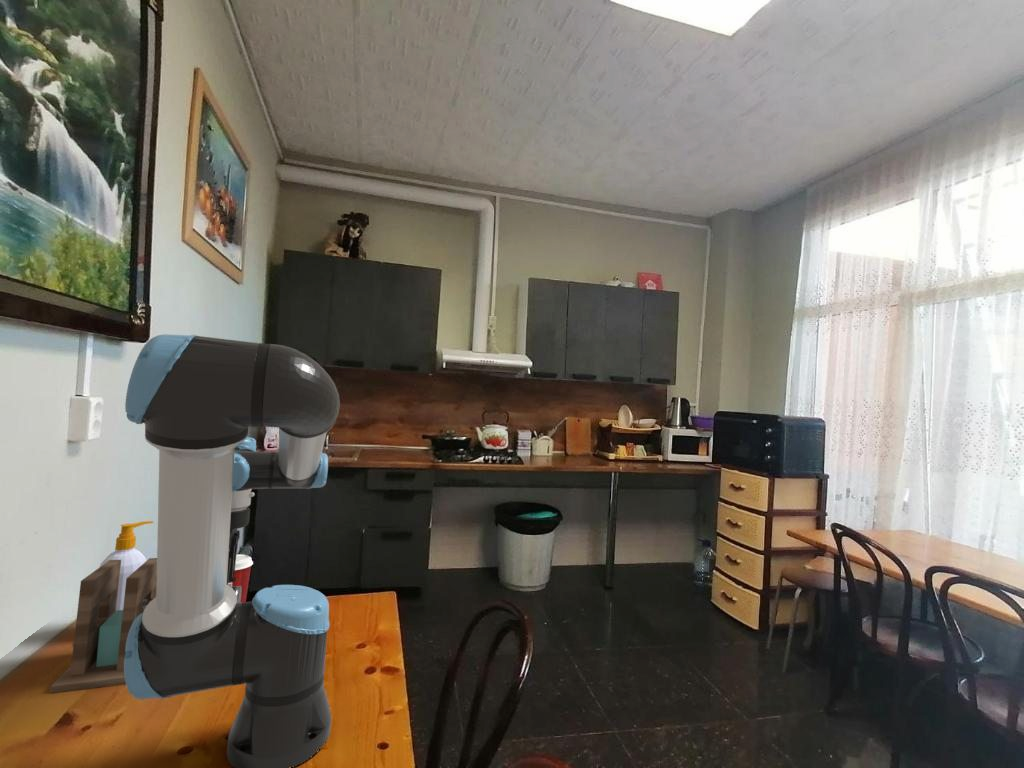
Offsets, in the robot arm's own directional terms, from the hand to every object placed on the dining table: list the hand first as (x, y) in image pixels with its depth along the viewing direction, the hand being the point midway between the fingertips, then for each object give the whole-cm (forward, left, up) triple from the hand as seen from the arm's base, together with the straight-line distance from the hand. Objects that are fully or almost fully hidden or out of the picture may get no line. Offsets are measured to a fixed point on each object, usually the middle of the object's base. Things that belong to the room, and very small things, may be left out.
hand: (220, 617), depth 100 cm
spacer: (0, +18, -6) cm, 19 cm away
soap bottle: (+15, +22, -7) cm, 28 cm away
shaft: (0, +6, +1) cm, 6 cm away
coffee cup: (+14, 0, -7) cm, 16 cm away
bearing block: (0, +15, -7) cm, 17 cm away
